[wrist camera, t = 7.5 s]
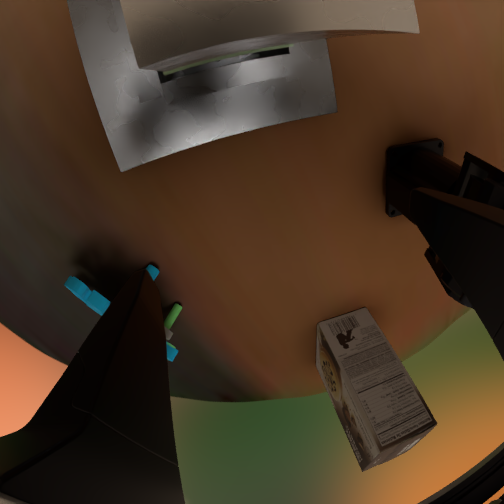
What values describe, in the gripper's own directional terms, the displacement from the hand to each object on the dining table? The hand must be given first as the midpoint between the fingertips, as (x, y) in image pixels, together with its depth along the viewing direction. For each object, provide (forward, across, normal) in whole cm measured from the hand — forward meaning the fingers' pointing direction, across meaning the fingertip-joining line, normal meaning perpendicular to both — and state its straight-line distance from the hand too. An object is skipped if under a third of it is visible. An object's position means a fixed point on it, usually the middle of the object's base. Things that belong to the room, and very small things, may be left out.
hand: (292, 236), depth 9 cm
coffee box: (+12, -7, +25) cm, 29 cm away
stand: (+12, 0, -8) cm, 14 cm away
